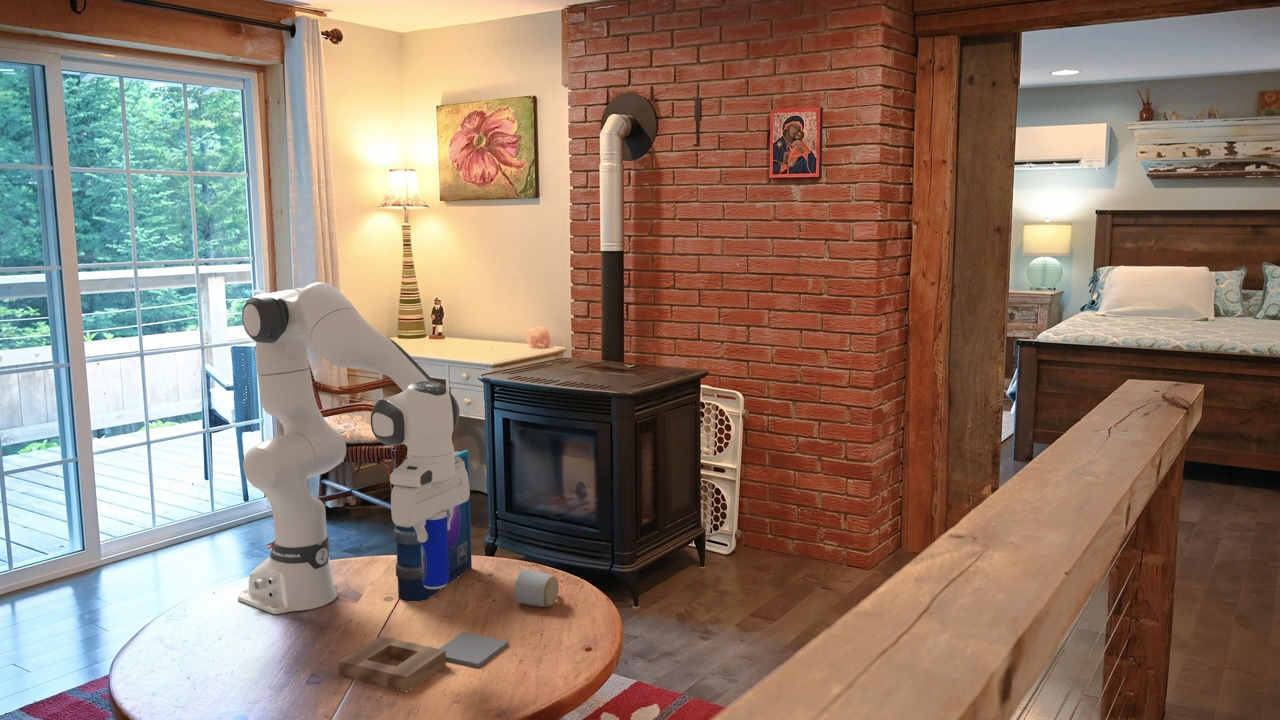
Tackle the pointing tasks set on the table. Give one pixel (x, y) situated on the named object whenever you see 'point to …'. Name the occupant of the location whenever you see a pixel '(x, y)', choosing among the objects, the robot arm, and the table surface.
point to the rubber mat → (472, 649)
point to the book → (411, 550)
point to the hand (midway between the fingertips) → (434, 536)
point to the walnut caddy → (372, 669)
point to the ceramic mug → (536, 588)
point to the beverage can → (435, 553)
